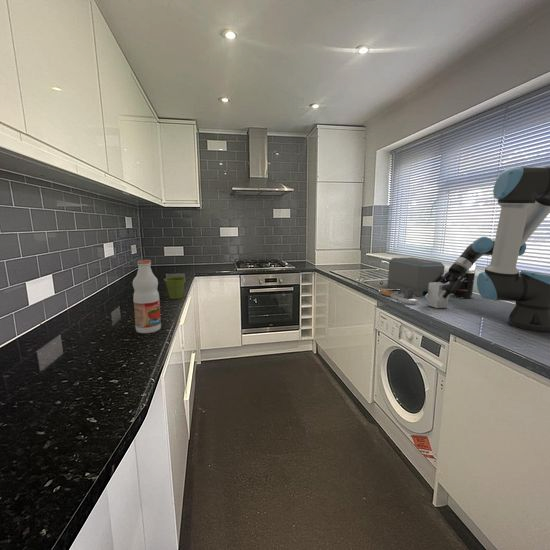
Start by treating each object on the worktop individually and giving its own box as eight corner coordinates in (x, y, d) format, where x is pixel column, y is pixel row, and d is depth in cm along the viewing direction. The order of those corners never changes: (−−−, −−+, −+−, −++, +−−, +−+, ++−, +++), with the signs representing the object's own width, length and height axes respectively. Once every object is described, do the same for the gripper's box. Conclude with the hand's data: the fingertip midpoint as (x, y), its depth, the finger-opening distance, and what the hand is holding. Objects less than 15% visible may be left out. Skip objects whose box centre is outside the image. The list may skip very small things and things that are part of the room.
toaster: (405, 284, 212) (408, 256, 209) (442, 295, 180) (446, 262, 177) (383, 285, 207) (385, 257, 204) (417, 296, 176) (420, 263, 172)
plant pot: (170, 295, 174) (169, 276, 173) (189, 295, 173) (189, 277, 172) (161, 300, 163) (160, 280, 161) (182, 300, 162) (181, 280, 160)
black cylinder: (453, 293, 184) (457, 254, 180) (472, 296, 178) (477, 255, 174) (451, 297, 176) (456, 255, 171) (471, 299, 170) (477, 256, 165)
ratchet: (422, 304, 159) (423, 290, 157) (406, 305, 156) (407, 291, 155) (390, 293, 184) (391, 281, 183) (376, 294, 182) (377, 282, 180)
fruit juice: (141, 325, 122) (136, 258, 117) (164, 325, 122) (160, 258, 118) (131, 333, 113) (125, 261, 108) (156, 333, 113) (151, 261, 108)
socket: (447, 307, 151) (450, 284, 150) (436, 308, 150) (439, 285, 148) (437, 303, 158) (439, 282, 156) (426, 304, 156) (428, 282, 154)
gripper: (481, 275, 146) (452, 309, 144) (447, 270, 165) (421, 300, 163) (474, 265, 144) (444, 299, 142) (440, 260, 162) (414, 291, 160)
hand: (432, 299), depth 152 cm, fingers closed on socket, 7 cm apart
